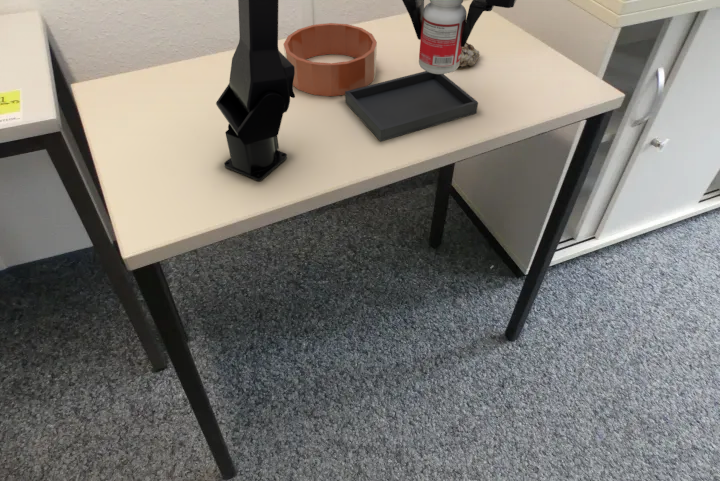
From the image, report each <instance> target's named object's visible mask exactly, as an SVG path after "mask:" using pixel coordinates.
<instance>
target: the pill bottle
mask: <svg viewBox="0 0 720 481" xmlns="http://www.w3.org/2000/svg"><path fill="white" fill-rule="evenodd" d="M463 2H464V0H429V2H428V3H427V4H426V5H424V10H423V17H422V29H421V40H419V41H420V42H419V53H418V65H419V67H420V68H421V69H422V70H424V71H427V72H430V73H433V74H444V75H447V74H451V73H453V72H455V71H457V70H458V69H459V67H460V66H459V63H460V57H461V50H462V47H461V42H462V35H463V31H464V27H465V23H466V19H467V14H468V12H467V9H466V7H465V6H464V5H463Z"/></svg>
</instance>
